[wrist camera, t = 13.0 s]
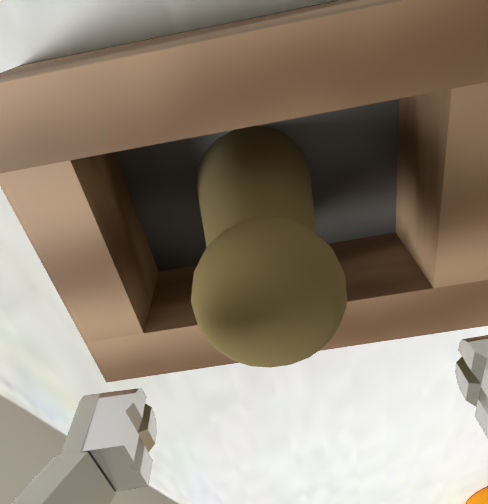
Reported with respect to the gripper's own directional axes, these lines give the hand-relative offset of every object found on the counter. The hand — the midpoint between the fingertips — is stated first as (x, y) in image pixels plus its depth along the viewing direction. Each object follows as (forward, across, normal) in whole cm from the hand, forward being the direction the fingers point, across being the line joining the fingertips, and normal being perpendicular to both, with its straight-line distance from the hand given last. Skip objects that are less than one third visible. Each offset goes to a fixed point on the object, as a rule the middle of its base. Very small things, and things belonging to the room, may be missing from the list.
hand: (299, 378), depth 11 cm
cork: (+13, 0, 0) cm, 13 cm away
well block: (+13, 0, 0) cm, 13 cm away
